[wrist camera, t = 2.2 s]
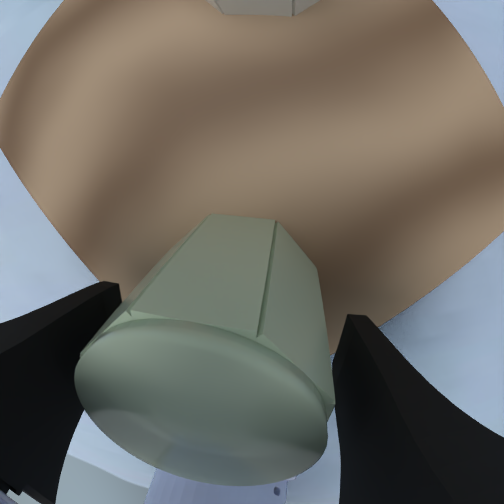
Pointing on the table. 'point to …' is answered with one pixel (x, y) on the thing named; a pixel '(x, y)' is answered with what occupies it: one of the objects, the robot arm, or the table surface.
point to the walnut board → (263, 139)
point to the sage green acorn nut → (217, 359)
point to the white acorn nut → (261, 7)
